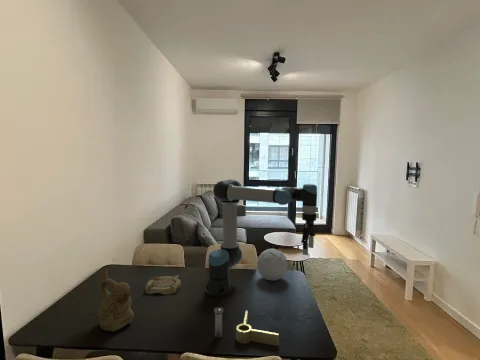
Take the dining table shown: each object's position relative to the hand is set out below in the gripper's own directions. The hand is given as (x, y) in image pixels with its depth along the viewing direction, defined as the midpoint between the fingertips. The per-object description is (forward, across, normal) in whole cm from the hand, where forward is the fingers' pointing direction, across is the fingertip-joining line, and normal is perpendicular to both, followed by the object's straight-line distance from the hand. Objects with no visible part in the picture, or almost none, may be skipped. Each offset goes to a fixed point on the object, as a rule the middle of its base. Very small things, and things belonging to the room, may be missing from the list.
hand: (308, 251), depth 165 cm
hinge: (+28, -42, +12) cm, 52 cm away
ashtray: (+28, -23, +81) cm, 89 cm away
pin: (+28, -51, +27) cm, 64 cm away
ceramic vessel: (+28, -65, +75) cm, 103 cm away
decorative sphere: (+28, +18, +27) cm, 43 cm away
